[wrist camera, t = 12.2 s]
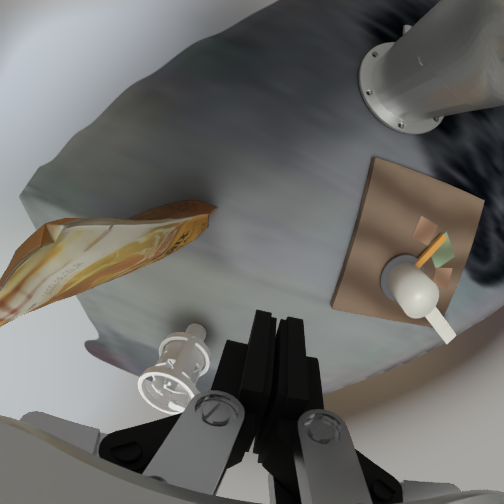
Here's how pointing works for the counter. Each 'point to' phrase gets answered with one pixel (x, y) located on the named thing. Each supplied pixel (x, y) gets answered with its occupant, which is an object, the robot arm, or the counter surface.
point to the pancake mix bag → (93, 253)
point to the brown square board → (405, 238)
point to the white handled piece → (416, 288)
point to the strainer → (177, 369)
